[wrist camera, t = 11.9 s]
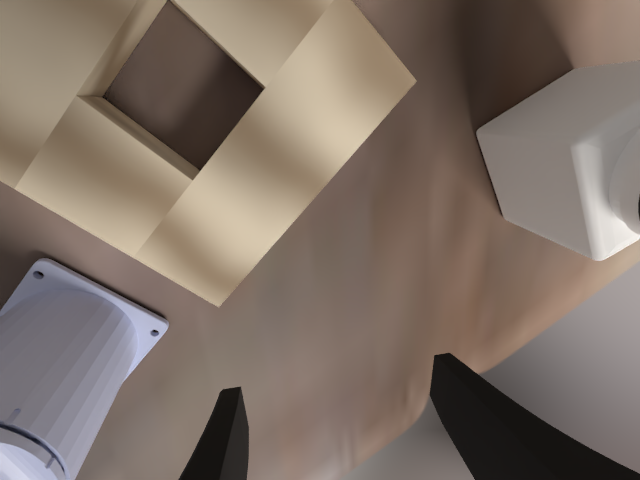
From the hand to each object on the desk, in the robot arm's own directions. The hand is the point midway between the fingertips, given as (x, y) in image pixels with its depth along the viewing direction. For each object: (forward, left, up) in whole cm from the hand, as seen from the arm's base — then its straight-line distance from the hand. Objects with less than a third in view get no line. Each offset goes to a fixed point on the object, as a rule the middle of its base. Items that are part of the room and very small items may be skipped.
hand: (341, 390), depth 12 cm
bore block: (+4, +11, -10) cm, 16 cm away
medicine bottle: (+16, -7, -11) cm, 20 cm away
